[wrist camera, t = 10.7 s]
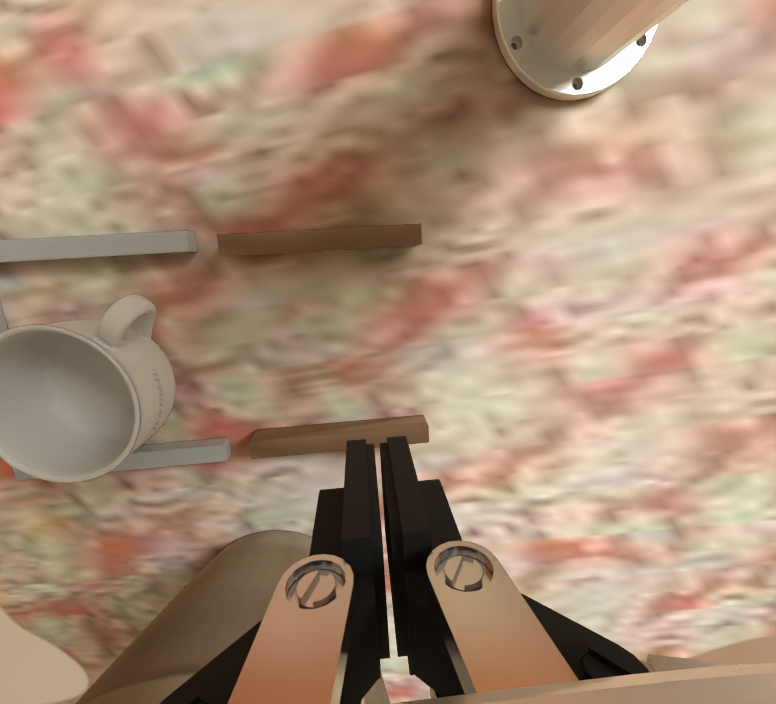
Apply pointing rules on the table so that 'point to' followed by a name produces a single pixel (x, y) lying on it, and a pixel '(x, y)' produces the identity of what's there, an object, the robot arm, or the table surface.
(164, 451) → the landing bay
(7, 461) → the teacup
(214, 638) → the plant pot
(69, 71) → the table surface
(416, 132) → the table surface
